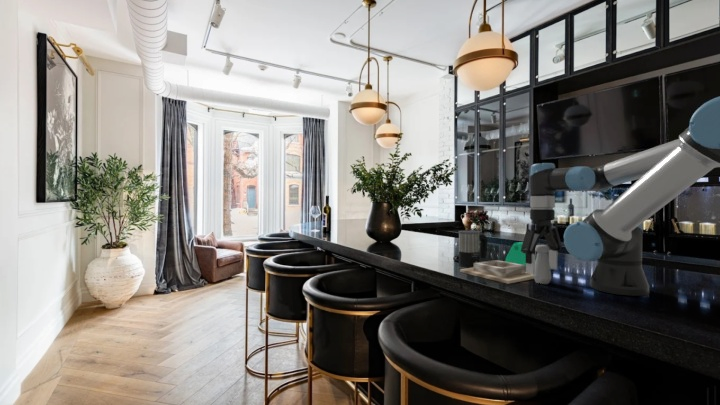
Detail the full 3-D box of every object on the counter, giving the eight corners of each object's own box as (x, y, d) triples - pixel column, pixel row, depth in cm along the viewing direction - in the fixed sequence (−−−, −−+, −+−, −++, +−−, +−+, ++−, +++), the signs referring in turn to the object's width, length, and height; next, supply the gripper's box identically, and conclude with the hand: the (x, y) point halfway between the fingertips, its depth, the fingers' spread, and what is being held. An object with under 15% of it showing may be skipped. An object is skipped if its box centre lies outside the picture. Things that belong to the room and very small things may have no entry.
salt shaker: (544, 285, 118) (544, 246, 118) (528, 281, 123) (528, 244, 123) (555, 283, 120) (555, 245, 120) (539, 280, 126) (539, 243, 125)
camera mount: (541, 267, 147) (541, 243, 147) (527, 269, 144) (528, 244, 144) (518, 263, 159) (518, 240, 158) (505, 264, 156) (505, 241, 155)
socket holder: (540, 277, 130) (540, 266, 129) (508, 283, 120) (508, 272, 120) (490, 267, 148) (491, 257, 148) (460, 272, 139) (460, 261, 139)
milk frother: (472, 268, 146) (472, 232, 146) (441, 263, 158) (441, 230, 158) (490, 264, 155) (490, 230, 155) (459, 259, 167) (459, 228, 167)
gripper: (552, 207, 131) (552, 265, 131) (509, 209, 118) (509, 272, 119) (573, 208, 124) (572, 269, 125) (530, 209, 112) (529, 277, 112)
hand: (541, 271), depth 122 cm, fingers open, 12 cm apart
